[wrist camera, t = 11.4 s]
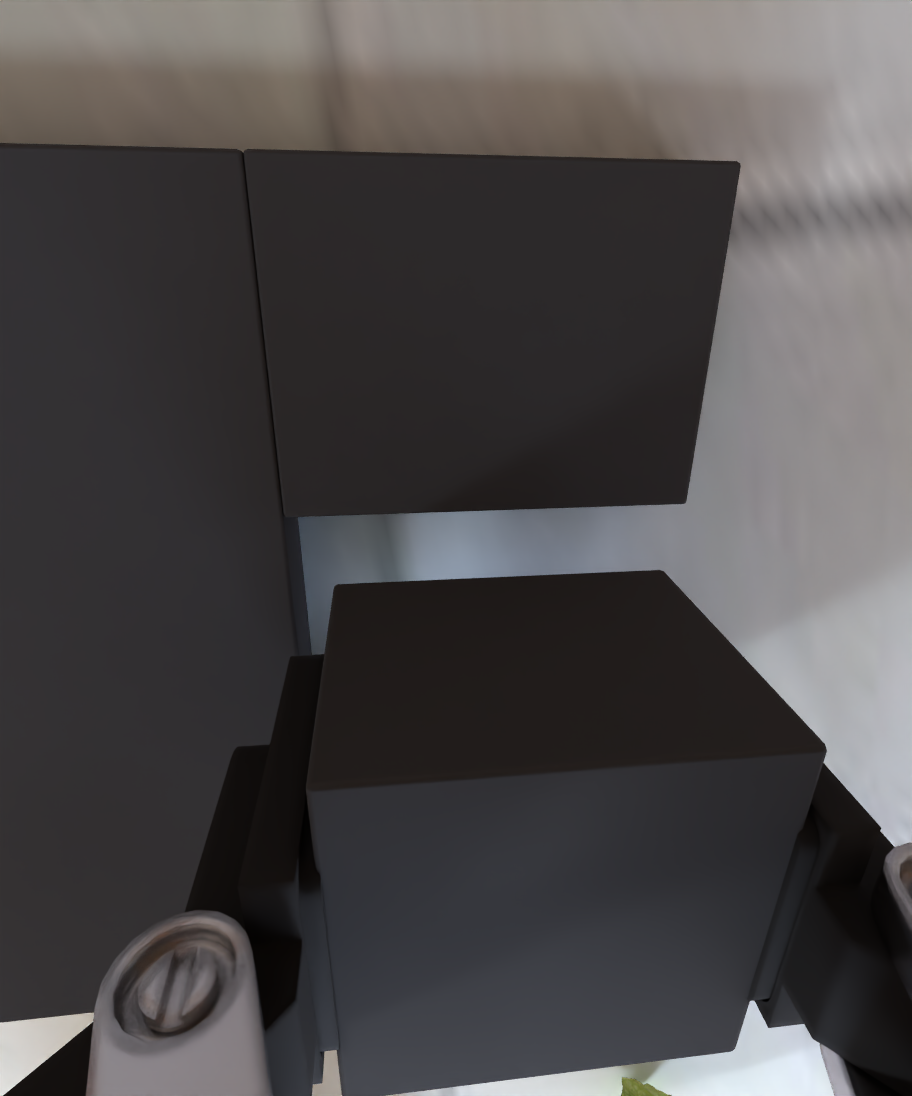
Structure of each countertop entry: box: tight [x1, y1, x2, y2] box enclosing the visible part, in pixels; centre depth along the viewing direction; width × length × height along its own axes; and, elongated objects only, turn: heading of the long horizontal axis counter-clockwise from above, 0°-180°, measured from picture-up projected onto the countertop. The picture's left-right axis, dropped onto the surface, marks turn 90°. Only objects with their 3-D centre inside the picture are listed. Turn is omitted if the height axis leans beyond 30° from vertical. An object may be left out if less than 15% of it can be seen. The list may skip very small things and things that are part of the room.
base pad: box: [0, 143, 741, 1022], centre depth 11 cm, size 18×16×2 cm
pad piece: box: [306, 570, 827, 1096], centre depth 9 cm, size 5×5×4 cm
